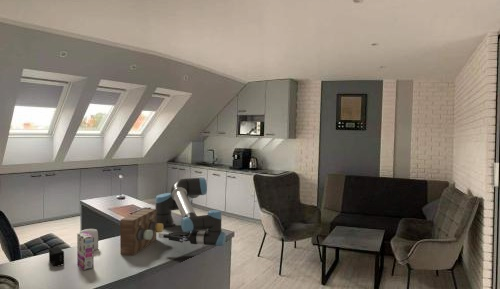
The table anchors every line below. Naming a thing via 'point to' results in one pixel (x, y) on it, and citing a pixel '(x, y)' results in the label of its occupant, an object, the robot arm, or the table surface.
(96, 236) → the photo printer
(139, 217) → the console
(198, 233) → the robot arm
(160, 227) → the ochre button
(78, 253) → the candy bar box
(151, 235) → the sage button
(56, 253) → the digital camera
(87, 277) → the table surface
